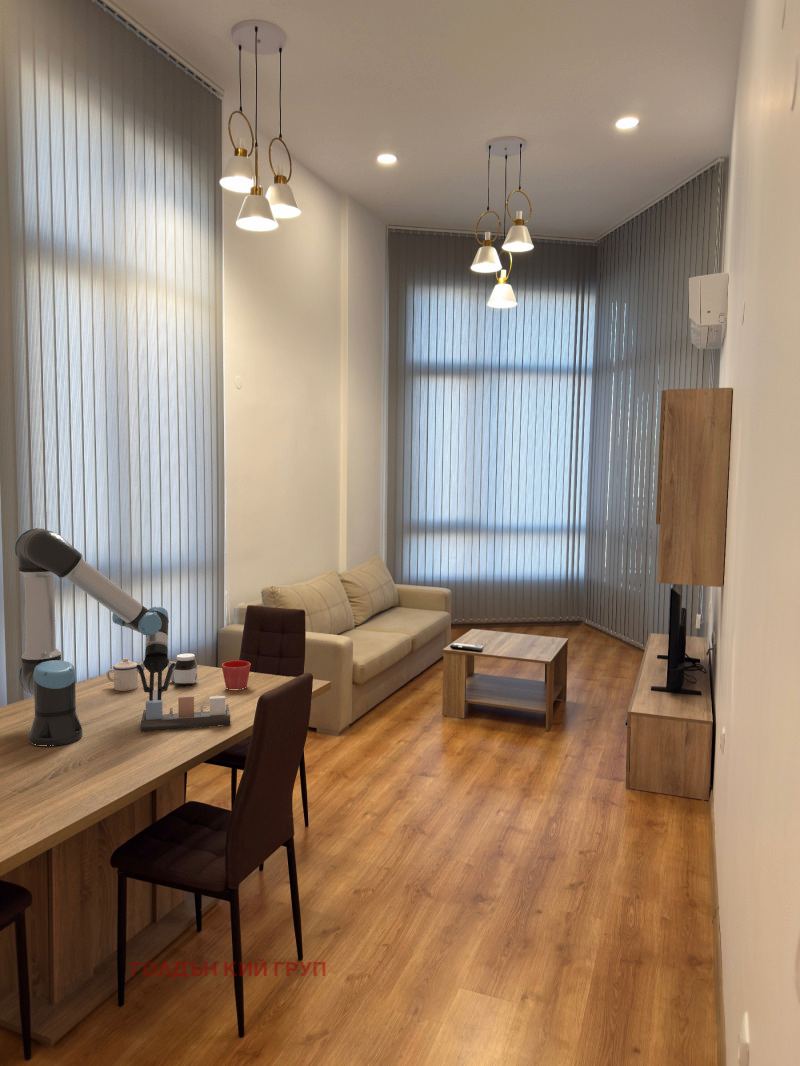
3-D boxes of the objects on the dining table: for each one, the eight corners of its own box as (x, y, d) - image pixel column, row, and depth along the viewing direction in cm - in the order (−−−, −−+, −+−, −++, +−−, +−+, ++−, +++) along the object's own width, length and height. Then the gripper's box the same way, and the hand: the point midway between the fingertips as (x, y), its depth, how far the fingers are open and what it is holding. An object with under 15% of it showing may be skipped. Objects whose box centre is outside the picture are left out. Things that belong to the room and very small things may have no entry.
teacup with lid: (142, 685, 294) (141, 655, 294) (133, 691, 285) (132, 661, 284) (111, 684, 295) (111, 655, 294) (102, 690, 286) (101, 660, 285)
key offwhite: (209, 717, 250) (209, 696, 249) (225, 716, 251) (225, 695, 251) (209, 720, 248) (209, 698, 247) (225, 719, 249) (225, 697, 248)
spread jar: (191, 688, 291) (190, 658, 290) (162, 687, 292) (162, 658, 291) (201, 680, 303) (201, 651, 302) (173, 679, 304) (173, 650, 303)
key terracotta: (178, 716, 251) (178, 695, 250) (194, 715, 252) (194, 694, 252) (178, 719, 248) (178, 697, 248) (194, 717, 250) (194, 696, 249)
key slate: (146, 722, 244) (146, 700, 244) (162, 721, 246) (162, 699, 245) (146, 725, 242) (145, 703, 241) (162, 723, 243) (162, 702, 243)
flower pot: (245, 692, 286) (244, 667, 285) (217, 691, 287) (217, 666, 287) (254, 685, 296) (254, 661, 295) (228, 683, 298) (228, 659, 297)
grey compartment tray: (143, 720, 252) (143, 710, 252) (228, 714, 260) (228, 704, 259) (140, 731, 241) (140, 721, 240) (230, 725, 248) (230, 715, 248)
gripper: (176, 652, 265) (176, 713, 250) (137, 654, 262) (134, 716, 247) (175, 641, 259) (175, 702, 245) (136, 643, 256) (133, 705, 241)
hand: (155, 709), depth 246 cm, fingers closed
